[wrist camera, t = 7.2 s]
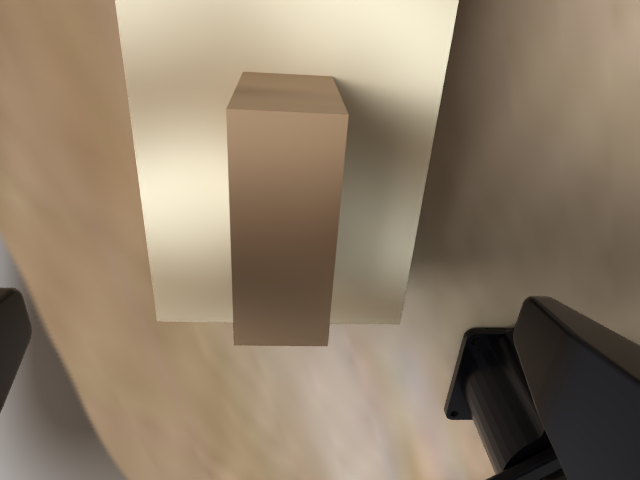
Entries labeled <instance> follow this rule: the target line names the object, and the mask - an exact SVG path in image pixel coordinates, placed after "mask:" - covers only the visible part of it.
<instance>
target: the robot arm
mask: <svg viewBox="0 0 640 480" xmlns="http://www.w3.org/2000/svg"><path fill="white" fill-rule="evenodd" d="M31 334H32V327H31V323H30V319H29V316H28V312H27V309H26V305H25V302H24V299H23V296H22V293H21V292H20V291H19V290H18V289H16V288H0V412H1V410H2V408H3V406H4V403H5V401H6V398H7V396H8V393H9V391H10V389H11V386H12V384H13V381H14V379H15V376H16V374H17V371H18V369H19V366H20V364H21V361H22V359H23V356H24V354H25V351H26V349H27V347H28V344H29V342H30V339H31ZM476 337H477V338H476ZM473 338H476V339H474V340H471V339H473ZM444 412H445V414H446V417H447V418H448V419H451V420H473V421H474V423H475V426H476V428H477V430H478V433H479V435H480V438H481V440H482V443H483V445H484V447H485V450H486V452H487V455H488V457H489V459H490V462H491V464H492V467H493V469H494V472H495V474H496V475H494V476H492V477H490V478H488V479H486V480H640V346H639V345H637V344H635V343H634V342H632V341H630V340H628V339H626V338H624V337H623V336H621V335H619V334H617V333H615V332H613V331H612V330H610V329H608V328H606V327H604V326H602V325H601V324H599V323H597V322H595V321H593V320H592V319H590V318H588V317H586V316H584V315H582V314H581V313H579V312H577V311H575V310H573V309H571V308H570V307H568V306H566V305H564V304H562V303H560V302H559V301H557V300H555V299H553V298H551V297H540V296H530V297H528V298H526V299H525V301H524V302H523V305H522V308H521V311H520V314H519V317H518V320H517V323H516V326H515V329H471V330H469V331H467V332H466V333H465V334H464V336H463V340H462V344H461V348H460V351H459V355H458V359H457V362H456V366H455V370H454V374H453V377H452V381H451V385H450V389H449V392H448V396H447V400H446V403H445V407H444Z"/></svg>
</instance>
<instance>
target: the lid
mask: <svg viewBox="0 0 640 480" xmlns="http://www.w3.org/2000/svg"><path fill="white" fill-rule="evenodd" d="M458 2H459V0H115V3H116V11H117V18H118V26H119V34H120V41H121V49H122V57H123V64H124V72H125V79H126V87H127V95H128V102H129V110H130V118H131V125H132V133H133V141H134V148H135V156H136V163H137V171H138V179H139V186H140V194H141V202H142V209H143V217H144V225H145V232H146V240H147V247H148V255H149V263H150V270H151V278H152V286H153V293H154V301H155V309H156V316H157V321H166V322H233V331H234V345H258V346H328V336H329V325H330V323H335V324H400V321H401V315H402V310H403V304H404V299H405V293H406V288H407V282H408V277H409V271H410V266H411V260H412V255H413V249H414V244H415V238H416V233H417V227H418V222H419V216H420V211H421V205H422V200H423V194H424V189H425V183H426V178H427V172H428V167H429V161H430V156H431V150H432V145H433V140H434V134H435V129H436V123H437V118H438V112H439V107H440V101H441V96H442V90H443V85H444V79H445V74H446V68H447V63H448V57H449V52H450V46H451V41H452V35H453V30H454V24H455V19H456V13H457V8H458Z"/></svg>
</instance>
